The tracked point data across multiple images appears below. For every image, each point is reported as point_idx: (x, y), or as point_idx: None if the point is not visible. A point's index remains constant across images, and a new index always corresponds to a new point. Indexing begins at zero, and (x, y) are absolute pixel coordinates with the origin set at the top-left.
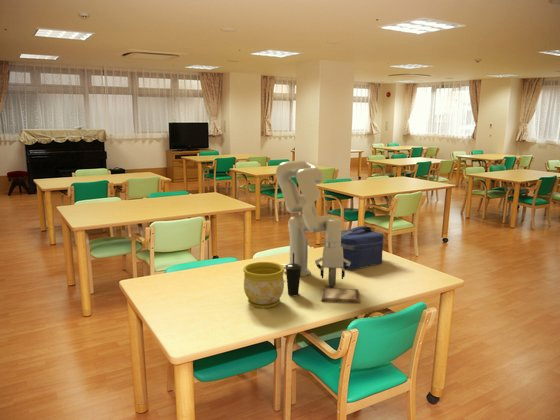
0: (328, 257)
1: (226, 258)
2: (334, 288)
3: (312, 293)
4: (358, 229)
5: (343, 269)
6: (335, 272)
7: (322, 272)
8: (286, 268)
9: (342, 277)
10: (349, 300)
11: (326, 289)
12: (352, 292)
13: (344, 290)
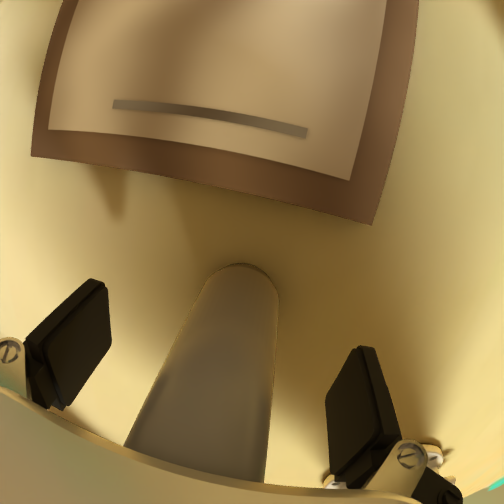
0: None
1: (497, 486)
2: (235, 177)
3: (471, 146)
4: None
5: (7, 364)
6: (154, 385)
7: (386, 409)
8: None
9: (86, 288)
10: None
11: (345, 145)
12: (79, 59)
13: (135, 101)
